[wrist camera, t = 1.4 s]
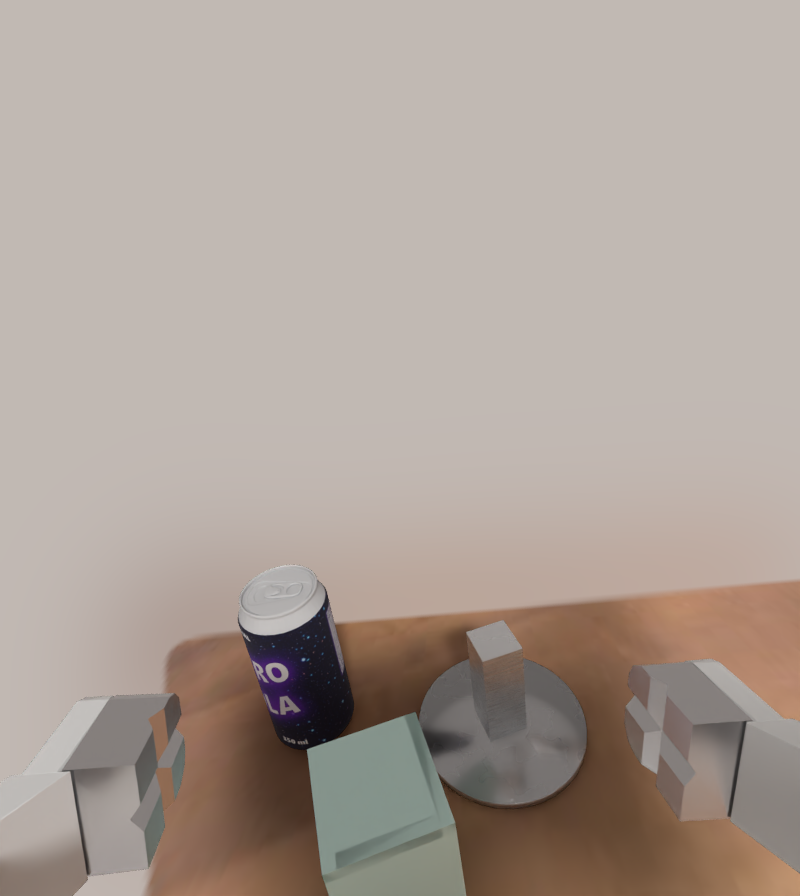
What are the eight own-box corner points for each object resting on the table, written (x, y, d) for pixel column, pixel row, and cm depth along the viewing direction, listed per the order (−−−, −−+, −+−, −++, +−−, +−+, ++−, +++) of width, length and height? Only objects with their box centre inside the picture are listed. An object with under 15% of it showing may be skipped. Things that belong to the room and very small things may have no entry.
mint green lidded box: (434, 819, 30) (415, 711, 26) (472, 936, 25) (455, 822, 21) (340, 856, 29) (306, 749, 25) (360, 986, 24) (321, 875, 20)
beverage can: (288, 690, 40) (248, 564, 35) (360, 685, 39) (329, 557, 34) (268, 761, 35) (218, 625, 30) (350, 756, 34) (313, 617, 29)
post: (533, 642, 41) (529, 565, 38) (624, 769, 31) (629, 679, 28) (401, 686, 39) (386, 609, 36) (453, 838, 29) (439, 749, 26)
